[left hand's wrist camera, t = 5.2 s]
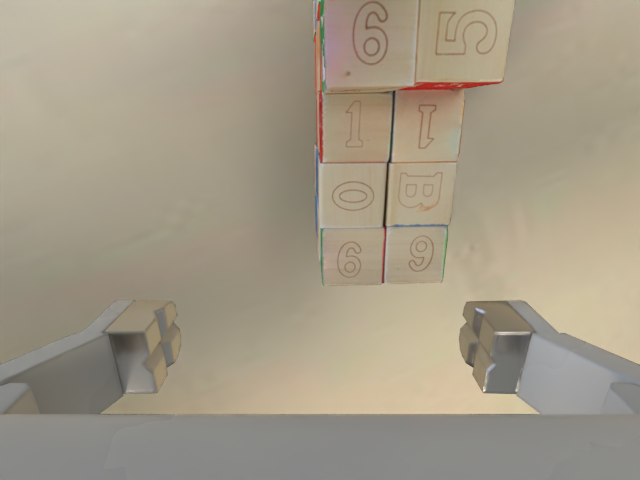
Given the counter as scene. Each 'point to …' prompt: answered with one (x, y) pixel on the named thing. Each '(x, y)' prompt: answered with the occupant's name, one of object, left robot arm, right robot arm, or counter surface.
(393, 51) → the stack of blocks
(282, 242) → the counter surface
